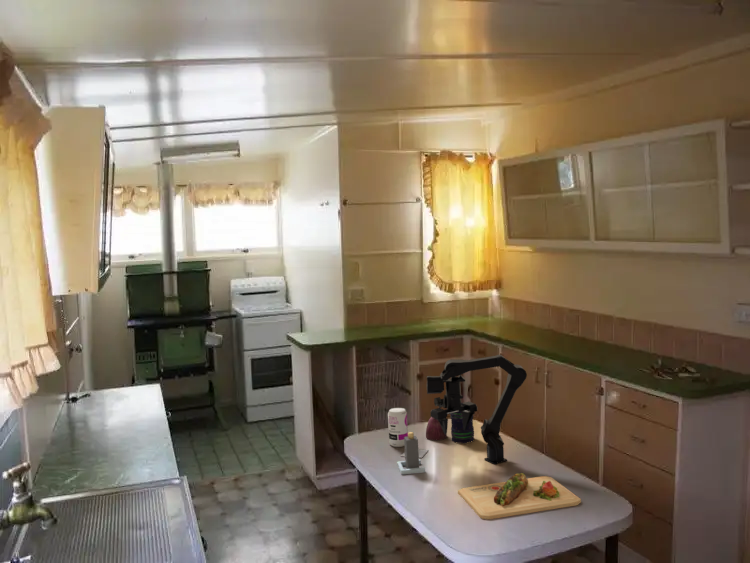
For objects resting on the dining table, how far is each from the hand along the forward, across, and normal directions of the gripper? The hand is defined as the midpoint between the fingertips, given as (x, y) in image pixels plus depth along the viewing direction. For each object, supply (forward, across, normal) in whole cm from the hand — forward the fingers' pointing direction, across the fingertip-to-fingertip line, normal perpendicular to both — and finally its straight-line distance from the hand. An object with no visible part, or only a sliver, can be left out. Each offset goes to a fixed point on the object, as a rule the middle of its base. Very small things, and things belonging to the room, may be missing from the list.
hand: (455, 432), depth 254 cm
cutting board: (+13, +4, +39) cm, 42 cm away
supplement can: (+12, +7, -32) cm, 35 cm away
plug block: (+12, +18, -4) cm, 22 cm away
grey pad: (+12, +8, -18) cm, 23 cm away
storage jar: (+12, -18, -20) cm, 30 cm away
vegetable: (+12, -11, -30) cm, 34 cm away
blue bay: (+12, +18, -4) cm, 22 cm away
